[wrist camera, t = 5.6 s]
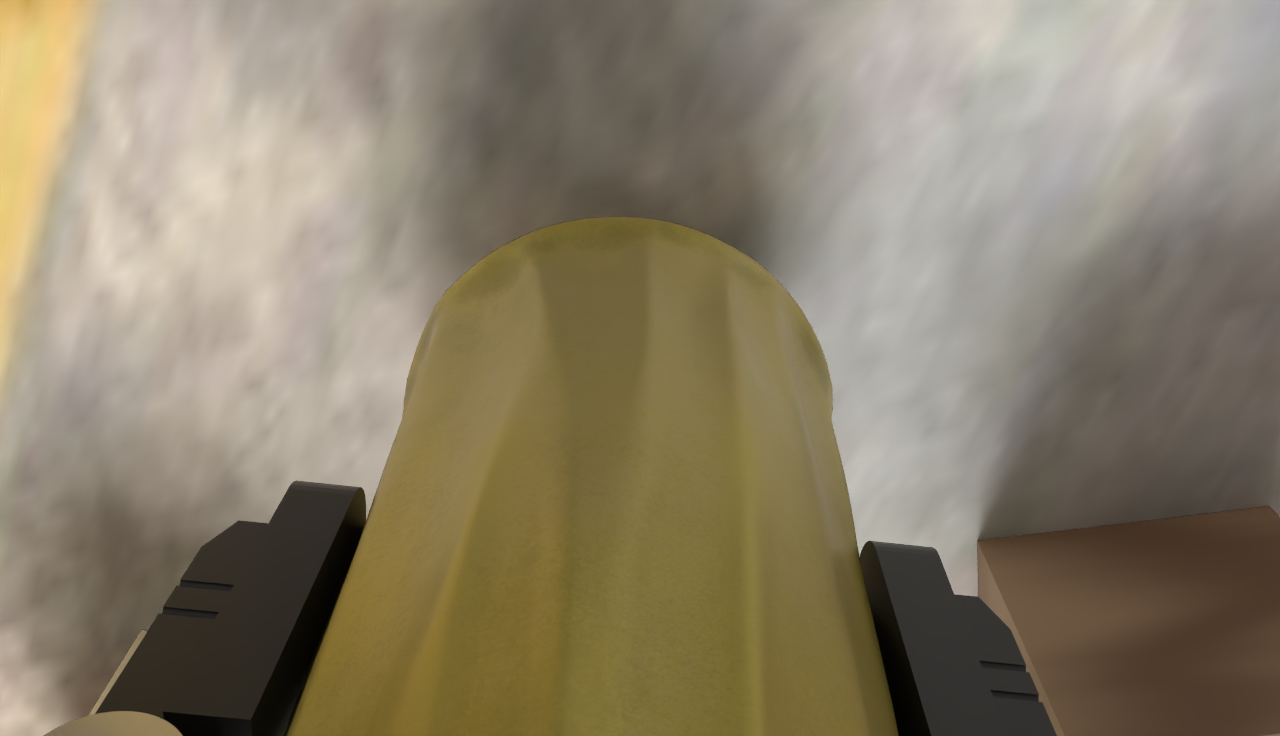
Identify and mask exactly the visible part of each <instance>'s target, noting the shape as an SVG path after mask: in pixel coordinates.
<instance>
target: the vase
mask: <svg viewBox="0 0 1280 736" xmlns="http://www.w3.org/2000/svg"><path fill="white" fill-rule="evenodd" d="M832 410H833V391H832V383H831V379H830V375H829V370H828V366H827V362H826V359H825V357H824V354H823V351H822V348H821V345H820V343H819V341H818V339H817V337H816V335H815V333H814V331H813V329H812V327H811V325H810V323H809V322H808V320H807V318H806V316H805V315H804V313H803V311H802V310H801V308H800V307H799V305H798V304H797V303H796V301H795V300H794V299H793V297H792V296H791V295H790V294H789V293H788V291H787V290H786V289H785V288H784V287H783V286H782V285H781V283H780V282H779V281H778V280H777V279H776V278H774V277H773V276H772V275H771V274H770V273H769V272H768V271H767V270H766V269H765V268H763V267H762V266H761V265H760V264H758V263H757V262H756V261H754V260H753V259H752V258H750V257H749V256H748V255H746V254H744V253H742V252H741V251H739V250H737V249H735V248H734V247H732V246H730V245H728V244H726V243H724V242H722V241H720V240H719V239H717V238H715V237H713V236H710V235H708V234H705V233H703V232H700V231H698V230H695V229H693V228H689V227H686V226H682V225H679V224H675V223H672V222H667V221H661V220H656V219H648V218H636V217H599V218H587V219H579V220H574V221H568V222H563V223H558V224H555V225H551V226H548V227H544V228H541V229H538V230H535V231H533V232H531V233H528V234H526V235H524V236H521V237H519V238H517V239H515V240H513V241H511V242H509V243H507V244H505V245H503V246H501V247H499V248H498V249H496V250H495V251H493V252H492V253H490V254H489V255H488V256H486V257H485V258H483V259H482V260H480V261H479V262H478V263H477V264H475V265H474V266H473V267H472V268H471V269H469V270H468V271H467V272H466V273H465V274H464V275H462V276H461V277H460V278H459V279H458V280H457V281H456V282H455V283H454V284H453V285H452V286H451V287H450V288H449V289H447V291H446V292H445V293H444V295H443V296H442V298H441V299H440V300H439V302H438V303H437V305H436V306H435V308H434V310H433V312H432V314H431V316H430V318H429V320H428V322H427V324H426V326H425V328H424V331H423V333H422V336H421V338H420V341H419V344H418V346H417V349H416V352H415V355H414V358H413V361H412V365H411V368H410V371H409V375H408V379H407V384H406V391H405V398H404V409H403V416H402V421H401V424H400V426H399V429H398V432H397V434H396V437H395V440H394V442H393V445H392V448H391V451H390V453H389V456H388V459H387V462H386V465H385V468H384V470H383V473H382V476H381V479H380V482H379V485H378V488H377V491H376V494H375V496H374V499H373V502H372V505H371V508H370V511H369V514H368V517H367V520H366V523H365V526H364V529H363V532H362V535H361V538H360V540H359V543H358V546H357V549H356V551H355V554H354V556H353V558H352V561H351V563H350V565H349V568H348V570H347V573H346V575H345V578H344V580H343V582H342V585H341V587H340V590H339V592H338V595H337V597H336V600H335V602H334V605H333V607H332V610H331V612H330V615H329V617H328V620H327V622H326V625H325V627H324V630H323V632H322V635H321V637H320V640H319V642H318V645H317V647H316V650H315V652H314V655H313V657H312V660H311V663H310V666H309V668H308V671H307V674H306V677H305V680H304V682H303V685H302V688H301V690H300V693H299V696H298V698H297V701H296V704H295V706H294V709H293V712H292V714H291V717H290V720H289V722H288V725H287V727H286V730H285V733H284V735H283V736H899V735H898V729H897V724H896V719H895V714H894V710H893V705H892V700H891V696H890V691H889V687H888V682H887V678H886V673H885V669H884V664H883V660H882V655H881V651H880V647H879V642H878V638H877V634H876V630H875V625H874V621H873V617H872V613H871V608H870V604H869V600H868V595H867V591H866V586H865V582H864V577H863V573H862V568H861V563H860V558H859V552H858V546H857V540H856V533H855V527H854V521H853V515H852V510H851V504H850V499H849V493H848V488H847V484H846V479H845V474H844V470H843V466H842V461H841V457H840V453H839V449H838V446H837V442H836V438H835V434H834V429H833V425H832V419H831V417H832Z"/></svg>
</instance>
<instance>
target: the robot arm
mask: <svg viewBox="0 0 1280 736" xmlns="http://www.w3.org/2000/svg"><path fill="white" fill-rule="evenodd" d="M365 523H366V500H365V493H364V490H363V489H362V488H361V487H352V486H342V485H332V484H323V483H313V482H303V481H294V482H293V483H292V484H291V485H290V487H289V488H288V490H287V492H286V494H285V495H284V497H283V499H282V501H281V503H280V504H279V506H278V508H277V510H276V511H275V513H274V515H273V517H272V519H271V520H270V522H269V524H267V523H257V522H247V521H238V522H236V523H235V524H233V525H232V526H231V527H229V528H228V529H226V530H225V531H223V532H222V533H221V534H219V535H218V536H216V537H215V538H214V539H212V540H211V541H209V542H208V543H206V544H205V545H204V546H202V547H201V549H200V550H199V552H198V553H197V555H196V556H195V558H194V560H193V561H192V563H191V564H190V566H189V567H188V569H187V571H186V572H185V574H184V575H183V577H182V578H181V583H180V586H176V588H175V589H174V591H173V592H172V594H171V596H170V597H169V599H168V600H167V602H166V603H165V605H164V607H163V613H162V614H158V616H157V617H156V619H155V621H154V622H153V624H152V625H151V627H150V628H149V630H148V632H147V633H146V635H145V636H144V638H143V639H142V641H141V643H140V644H139V646H138V647H137V649H136V650H135V652H134V653H133V655H132V657H131V658H130V660H129V661H128V663H127V664H126V666H125V668H124V669H123V671H122V672H121V674H120V675H119V677H118V679H117V680H116V682H115V683H114V685H113V686H112V688H111V689H110V691H109V693H108V694H107V696H106V697H105V699H104V700H103V702H102V704H101V705H100V707H99V708H98V710H97V711H96V713H95V714H94V715H90V716H86V717H82V718H80V719H77V720H74V721H71V722H68V723H66V724H64V725H62V726H60V727H58V728H56V729H54V730H52V731H50V732H49V733H47V734H45V735H44V736H283V735H284V733H285V730H286V727H287V725H288V722H289V720H290V717H291V714H292V712H293V709H294V706H295V704H296V701H297V698H298V696H299V693H300V690H301V688H302V685H303V682H304V680H305V677H306V674H307V671H308V668H309V666H310V663H311V660H312V657H313V655H314V652H315V650H316V647H317V645H318V642H319V640H320V637H321V635H322V632H323V630H324V627H325V625H326V622H327V620H328V617H329V615H330V612H331V610H332V607H333V605H334V602H335V600H336V597H337V595H338V592H339V590H340V587H341V585H342V582H343V580H344V578H345V575H346V573H347V570H348V568H349V565H350V563H351V561H352V558H353V556H354V554H355V551H356V549H357V546H358V543H359V540H360V538H361V535H362V532H363V529H364V526H365ZM860 563H861V568H862V573H863V577H864V582H865V586H866V591H867V595H868V600H869V604H870V608H871V613H872V617H873V621H874V625H875V630H876V634H877V638H878V642H879V647H880V651H881V655H882V660H883V664H884V669H885V673H886V678H887V682H888V687H889V691H890V696H891V700H892V705H893V710H894V714H895V719H896V724H897V729H898V735H899V736H1057V735H1056V732H1055V730H1054V728H1053V725H1052V723H1051V721H1050V719H1049V716H1048V714H1047V712H1046V709H1045V707H1044V705H1043V702H1039V693H1038V691H1037V689H1036V686H1035V684H1034V682H1033V680H1032V677H1031V675H1030V673H1029V672H1026V663H1025V661H1024V659H1023V657H1022V654H1021V652H1020V650H1019V647H1018V645H1017V643H1016V641H1015V638H1014V636H1013V634H1012V631H1011V629H1010V628H1009V627H1008V626H1007V625H1006V624H1005V623H1004V622H1003V621H1002V620H1001V619H1000V618H999V617H998V616H997V615H996V614H995V613H994V612H993V611H992V610H991V609H990V608H989V607H988V606H987V605H986V604H985V603H984V602H983V601H982V600H981V599H980V598H979V597H973V596H963V595H954V593H953V591H952V588H951V585H950V583H949V580H948V577H947V575H946V572H945V570H944V567H943V564H942V562H941V559H940V556H939V554H938V552H937V551H936V550H935V549H934V548H933V547H923V546H913V545H904V544H894V543H884V542H875V541H868V542H866V544H865V545H864V547H863V549H862V551H861V554H860Z"/></svg>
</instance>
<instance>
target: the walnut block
mask: <svg viewBox="0 0 1280 736" xmlns="http://www.w3.org/2000/svg"><path fill="white" fill-rule="evenodd" d="M977 565H978V597H979V598H980V599H981V600H982V601H983V602H984V603H985V604H986V605H987V606H988V607H989V608H990V609H991V610H992V611H993V612H994V613H995V614H996V615H997V616H998V617H999V618H1000V619H1001V620H1002V621H1003V622H1004V623H1005V624H1006V625H1007V626H1008V627H1009V628H1010V629H1011V631H1012V634H1013V636H1014V638H1015V641H1016V643H1017V645H1018V647H1019V650H1020V652H1021V654H1022V657H1023V659H1024V661H1025V663H1026V672H1029V673H1030V675H1031V677H1032V680H1033V682H1034V684H1035V686H1036V689H1037V691H1038V693H1039V702H1043V705H1044V707H1045V709H1046V712H1047V714H1048V716H1049V719H1050V721H1051V723H1052V725H1053V728H1054V730H1055V732H1056V735H1057V736H1280V517H1279V516H1278V515H1277V514H1276V513H1275V512H1274V511H1273V510H1272V508H1271V507H1270V506H1265V507H1256V508H1248V509H1239V510H1231V511H1223V512H1214V513H1206V514H1197V515H1189V516H1181V517H1172V518H1164V519H1155V520H1147V521H1139V522H1130V523H1122V524H1114V525H1105V526H1097V527H1088V528H1080V529H1072V530H1063V531H1055V532H1046V533H1038V534H1030V535H1021V536H1013V537H1004V538H996V539H988V540H979V541H977Z"/></svg>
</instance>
